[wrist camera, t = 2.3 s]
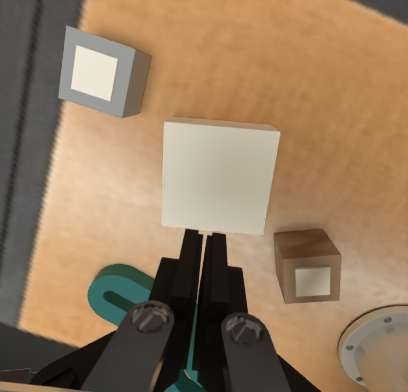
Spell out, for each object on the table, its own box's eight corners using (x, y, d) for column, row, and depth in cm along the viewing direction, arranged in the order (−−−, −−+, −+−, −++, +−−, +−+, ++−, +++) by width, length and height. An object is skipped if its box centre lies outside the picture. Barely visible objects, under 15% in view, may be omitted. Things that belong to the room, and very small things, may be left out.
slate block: (151, 56, 25) (134, 48, 20) (139, 113, 26) (120, 118, 21) (96, 38, 24) (64, 24, 19) (87, 96, 26) (56, 97, 21)
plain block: (270, 124, 26) (280, 131, 21) (256, 212, 29) (262, 235, 25) (174, 116, 26) (164, 121, 22) (170, 204, 30) (161, 225, 25)
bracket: (239, 326, 35) (243, 390, 27) (209, 358, 37) (205, 424, 30) (111, 253, 32) (78, 301, 25) (87, 291, 34) (50, 346, 27)
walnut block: (322, 228, 29) (342, 256, 24) (321, 268, 31) (340, 302, 26) (273, 232, 30) (283, 261, 25) (275, 272, 32) (285, 305, 27)
